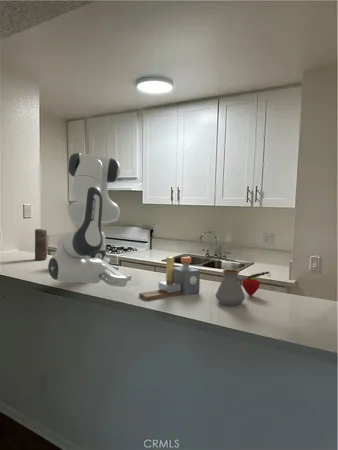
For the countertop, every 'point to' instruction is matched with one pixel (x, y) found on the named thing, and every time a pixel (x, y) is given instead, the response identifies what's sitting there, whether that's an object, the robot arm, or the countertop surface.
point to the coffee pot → (232, 288)
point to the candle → (40, 244)
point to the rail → (157, 294)
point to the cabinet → (187, 279)
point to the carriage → (170, 278)
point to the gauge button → (185, 262)
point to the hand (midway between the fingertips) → (123, 273)
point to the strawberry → (251, 285)
